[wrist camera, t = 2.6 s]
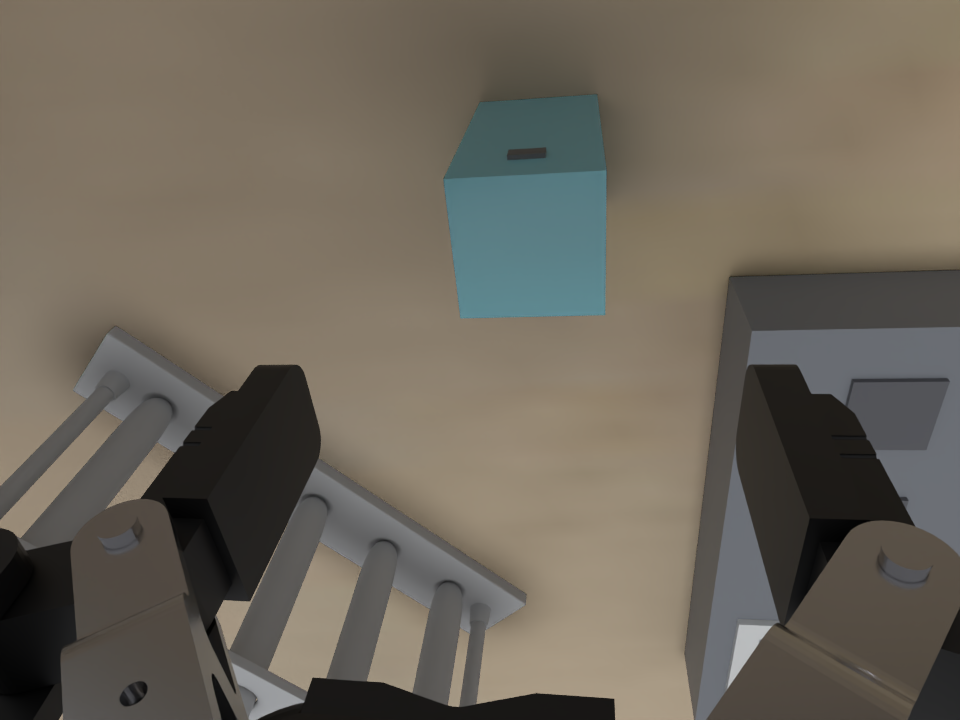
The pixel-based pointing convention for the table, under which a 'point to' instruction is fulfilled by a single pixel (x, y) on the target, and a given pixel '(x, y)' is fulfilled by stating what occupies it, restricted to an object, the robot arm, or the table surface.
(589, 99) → the block
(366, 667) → the test tube rack
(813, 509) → the robot arm
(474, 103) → the table surface
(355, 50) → the table surface
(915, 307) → the power strip
